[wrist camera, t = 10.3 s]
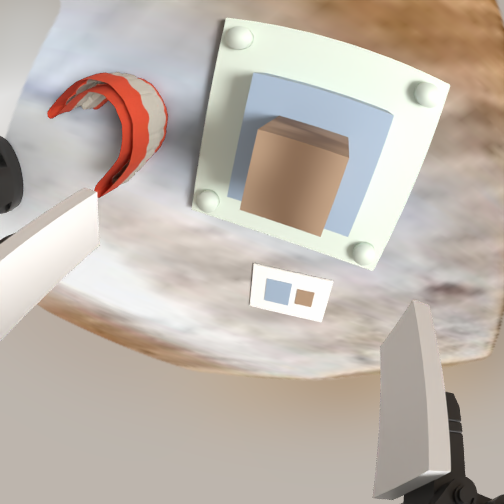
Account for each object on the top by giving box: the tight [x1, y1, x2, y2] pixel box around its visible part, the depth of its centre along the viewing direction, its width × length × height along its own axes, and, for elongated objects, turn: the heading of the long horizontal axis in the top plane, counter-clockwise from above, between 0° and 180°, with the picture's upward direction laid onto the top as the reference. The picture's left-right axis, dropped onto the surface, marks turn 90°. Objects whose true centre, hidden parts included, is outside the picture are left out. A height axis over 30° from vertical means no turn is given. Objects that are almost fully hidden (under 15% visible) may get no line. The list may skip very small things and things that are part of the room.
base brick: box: [227, 73, 394, 237], centre depth 28 cm, size 12×12×4 cm
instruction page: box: [250, 263, 333, 322], centre depth 41 cm, size 10×7×1 cm
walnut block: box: [240, 116, 349, 237], centre depth 24 cm, size 6×6×7 cm
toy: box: [47, 72, 168, 198], centre depth 30 cm, size 12×10×8 cm
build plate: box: [192, 18, 450, 271], centre depth 30 cm, size 22×22×2 cm
